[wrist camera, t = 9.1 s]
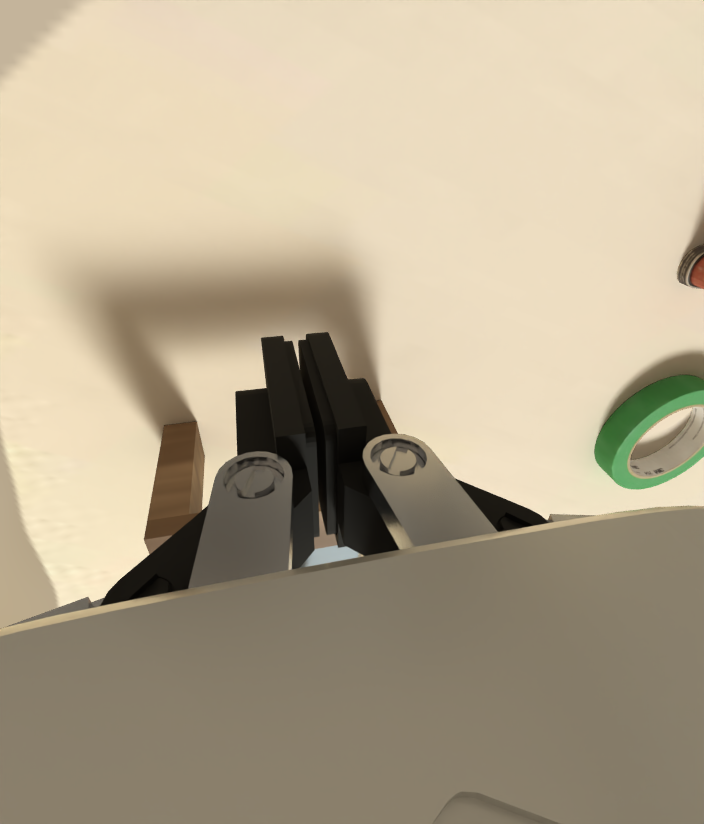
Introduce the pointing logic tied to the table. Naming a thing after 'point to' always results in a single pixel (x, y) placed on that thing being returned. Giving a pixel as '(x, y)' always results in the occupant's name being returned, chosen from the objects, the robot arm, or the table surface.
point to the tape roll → (638, 418)
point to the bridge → (192, 484)
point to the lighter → (692, 268)
